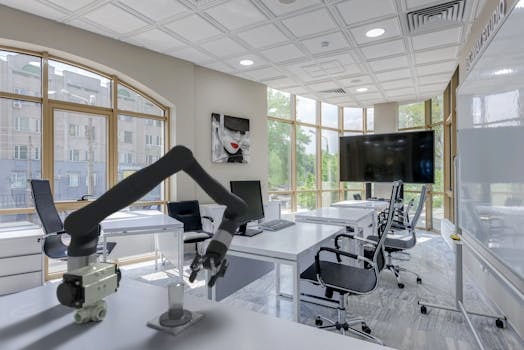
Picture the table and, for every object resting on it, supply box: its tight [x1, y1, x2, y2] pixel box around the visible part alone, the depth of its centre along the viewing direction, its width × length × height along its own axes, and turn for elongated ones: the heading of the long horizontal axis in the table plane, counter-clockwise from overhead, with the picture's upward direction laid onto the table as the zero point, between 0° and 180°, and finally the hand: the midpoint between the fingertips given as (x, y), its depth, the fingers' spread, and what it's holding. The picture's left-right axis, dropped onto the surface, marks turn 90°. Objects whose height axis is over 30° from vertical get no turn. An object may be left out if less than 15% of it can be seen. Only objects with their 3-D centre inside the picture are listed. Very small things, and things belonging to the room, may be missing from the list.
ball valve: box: [55, 261, 122, 325], centre depth 95 cm, size 18×8×18 cm, turn 159°
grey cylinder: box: [167, 281, 185, 320], centre depth 94 cm, size 5×5×10 cm
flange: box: [146, 308, 204, 336], centre depth 94 cm, size 12×12×1 cm
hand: (199, 284), depth 104 cm, fingers open, 8 cm apart
